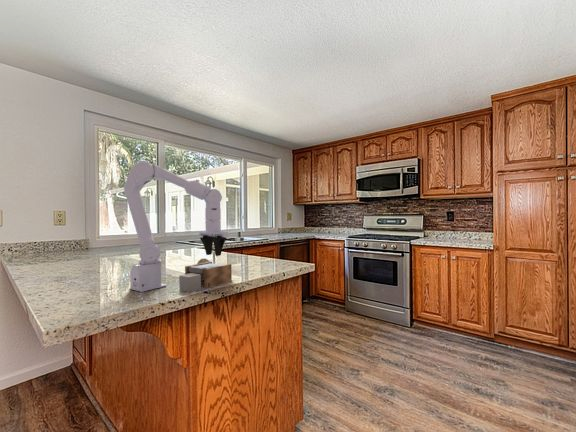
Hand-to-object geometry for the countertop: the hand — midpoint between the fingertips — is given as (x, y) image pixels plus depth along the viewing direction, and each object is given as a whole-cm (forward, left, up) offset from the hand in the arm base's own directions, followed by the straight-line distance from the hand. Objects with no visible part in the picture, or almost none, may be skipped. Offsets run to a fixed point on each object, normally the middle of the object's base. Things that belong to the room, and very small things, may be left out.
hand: (213, 255), depth 111 cm
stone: (-13, -3, -10) cm, 17 cm away
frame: (-2, 0, -10) cm, 10 cm away
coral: (+7, +14, -10) cm, 18 cm away
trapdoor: (-3, 0, -5) cm, 6 cm away
